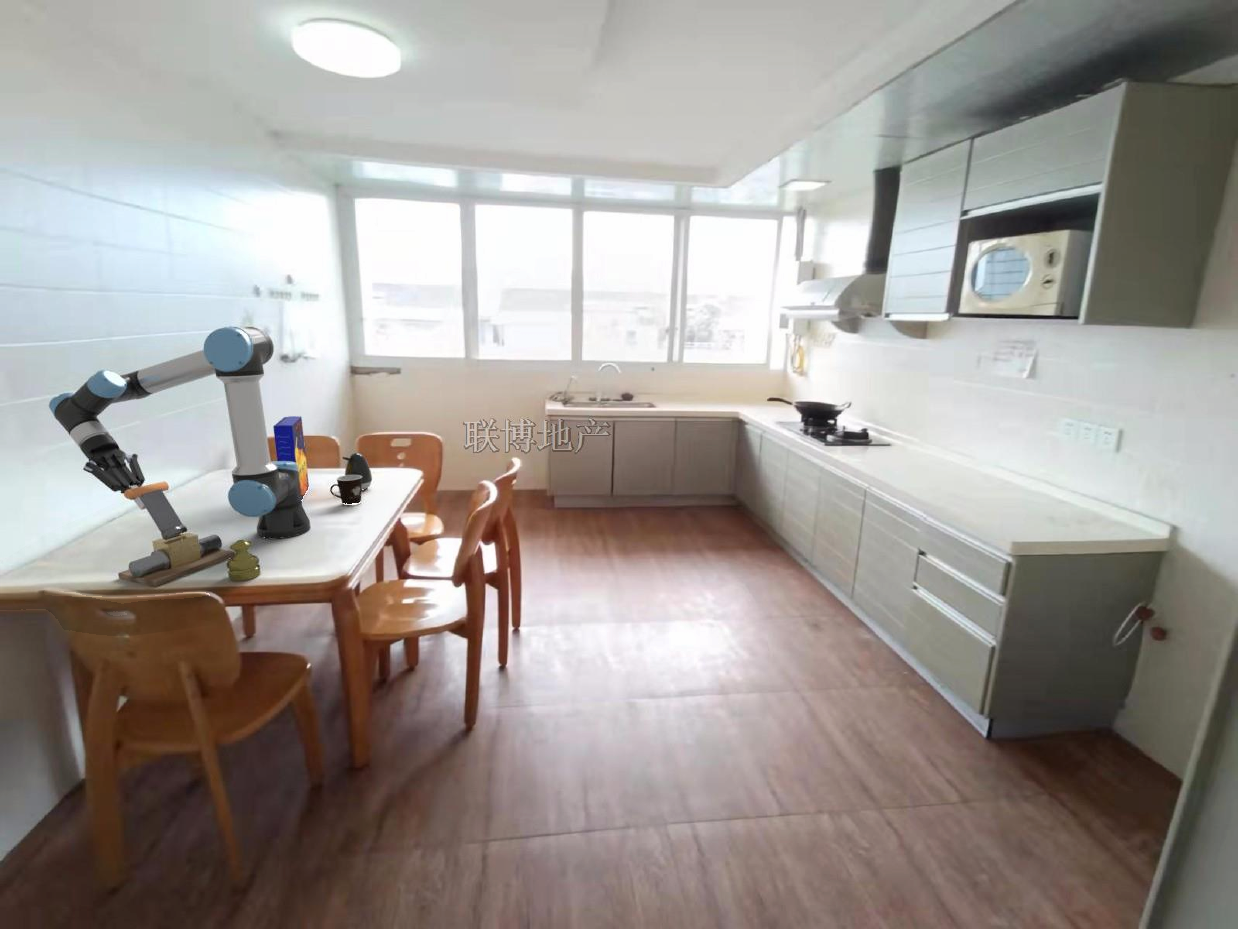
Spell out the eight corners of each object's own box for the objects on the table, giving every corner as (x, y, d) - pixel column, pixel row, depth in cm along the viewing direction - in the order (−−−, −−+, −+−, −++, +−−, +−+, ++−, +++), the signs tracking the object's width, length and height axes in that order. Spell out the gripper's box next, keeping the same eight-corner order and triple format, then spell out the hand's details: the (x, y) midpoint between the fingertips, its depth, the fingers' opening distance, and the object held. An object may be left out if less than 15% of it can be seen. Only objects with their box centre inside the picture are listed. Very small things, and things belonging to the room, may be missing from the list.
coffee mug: (361, 499, 231) (359, 473, 228) (366, 504, 224) (364, 478, 221) (328, 503, 225) (326, 477, 222) (332, 509, 218) (329, 482, 215)
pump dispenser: (341, 489, 244) (338, 452, 240) (367, 484, 250) (364, 449, 247) (350, 494, 236) (346, 456, 233) (376, 490, 243) (373, 453, 240)
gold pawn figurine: (266, 570, 164) (262, 536, 162) (251, 582, 157) (246, 546, 155) (239, 570, 164) (234, 535, 162) (222, 582, 157) (217, 545, 154)
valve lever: (152, 545, 158) (119, 493, 158) (190, 533, 168) (160, 484, 168) (157, 541, 157) (124, 488, 157) (195, 529, 167) (165, 479, 167)
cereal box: (300, 504, 222) (291, 424, 216) (282, 506, 220) (273, 425, 214) (309, 489, 242) (301, 415, 236) (292, 490, 240) (284, 416, 234)
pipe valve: (119, 578, 158) (113, 548, 156) (201, 549, 178) (196, 522, 176) (155, 587, 153) (149, 555, 151) (235, 556, 173) (231, 528, 171)
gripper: (116, 445, 174) (165, 507, 172) (63, 454, 162) (114, 521, 160) (125, 429, 171) (175, 492, 169) (71, 436, 159) (124, 504, 157)
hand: (145, 506), depth 165 cm, fingers closed
